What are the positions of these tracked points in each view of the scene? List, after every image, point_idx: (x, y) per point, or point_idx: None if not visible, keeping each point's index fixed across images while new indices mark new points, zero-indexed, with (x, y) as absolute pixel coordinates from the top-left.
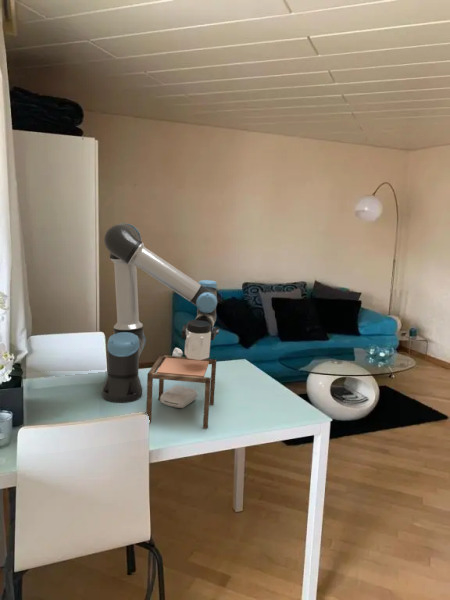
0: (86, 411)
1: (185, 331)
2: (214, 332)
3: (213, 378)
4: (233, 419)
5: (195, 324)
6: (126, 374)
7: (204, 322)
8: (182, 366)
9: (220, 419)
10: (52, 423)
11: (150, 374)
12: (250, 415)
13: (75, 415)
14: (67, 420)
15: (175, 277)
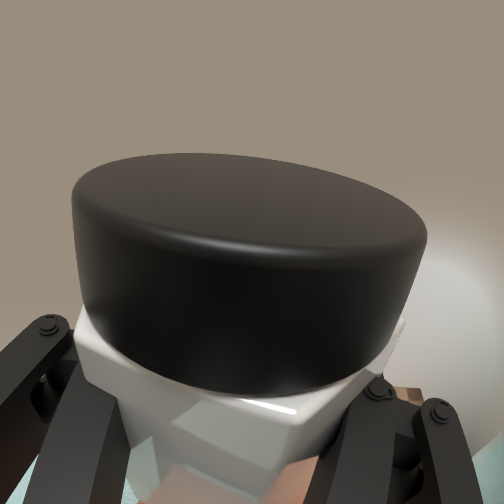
0: (487, 491)
1: (423, 488)
2: (5, 348)
3: None
4: None
5: (297, 170)
6: None
7: (159, 180)
8: (300, 494)
9: (123, 488)
10: (500, 432)
11: (409, 389)
12: (27, 483)
13: (492, 469)
14: (491, 448)
15: None
